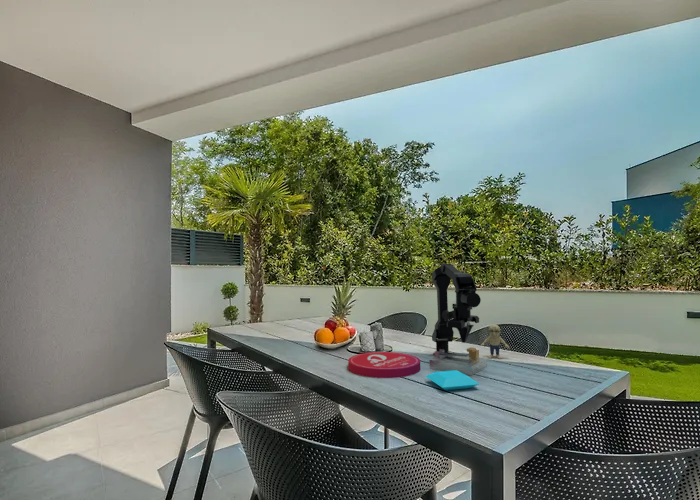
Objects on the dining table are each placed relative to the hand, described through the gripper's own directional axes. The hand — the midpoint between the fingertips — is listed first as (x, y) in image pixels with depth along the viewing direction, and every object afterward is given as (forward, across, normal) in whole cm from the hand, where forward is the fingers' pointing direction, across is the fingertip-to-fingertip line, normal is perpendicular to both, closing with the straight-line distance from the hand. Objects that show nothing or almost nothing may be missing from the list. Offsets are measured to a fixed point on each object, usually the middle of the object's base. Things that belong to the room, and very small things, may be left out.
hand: (463, 342), depth 168 cm
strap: (+5, +3, -3) cm, 7 cm away
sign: (+11, +19, -27) cm, 35 cm away
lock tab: (+7, -4, +2) cm, 8 cm away
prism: (+11, +24, +6) cm, 27 cm away
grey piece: (+11, 0, -2) cm, 11 cm away
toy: (+11, -26, +3) cm, 28 cm away
